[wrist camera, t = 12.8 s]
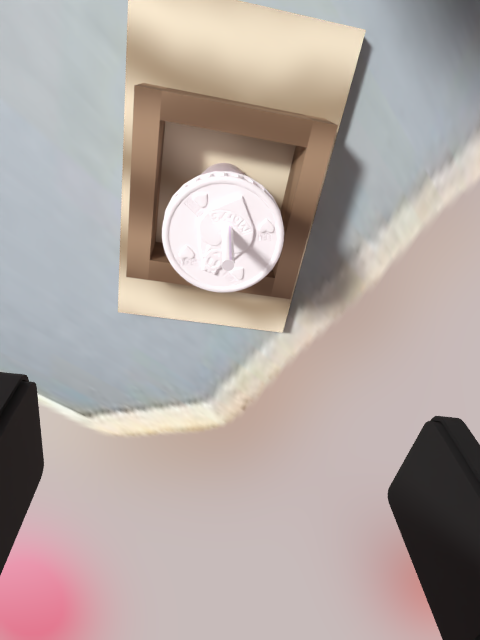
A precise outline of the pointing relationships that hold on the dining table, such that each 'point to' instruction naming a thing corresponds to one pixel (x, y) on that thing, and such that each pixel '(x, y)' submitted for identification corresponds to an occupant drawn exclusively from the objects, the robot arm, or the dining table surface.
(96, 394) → the dining table surface
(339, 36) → the socket stand
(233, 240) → the smoothie
